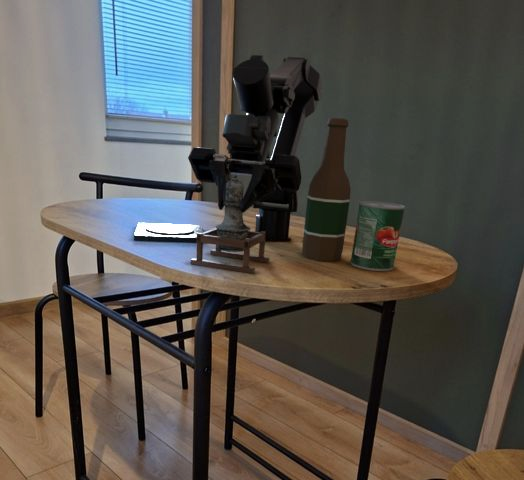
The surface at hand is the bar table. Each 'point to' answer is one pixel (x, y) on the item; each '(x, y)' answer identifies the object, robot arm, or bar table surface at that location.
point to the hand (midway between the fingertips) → (230, 209)
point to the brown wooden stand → (213, 238)
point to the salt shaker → (233, 216)
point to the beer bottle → (328, 199)
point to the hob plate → (167, 232)
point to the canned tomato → (377, 235)
